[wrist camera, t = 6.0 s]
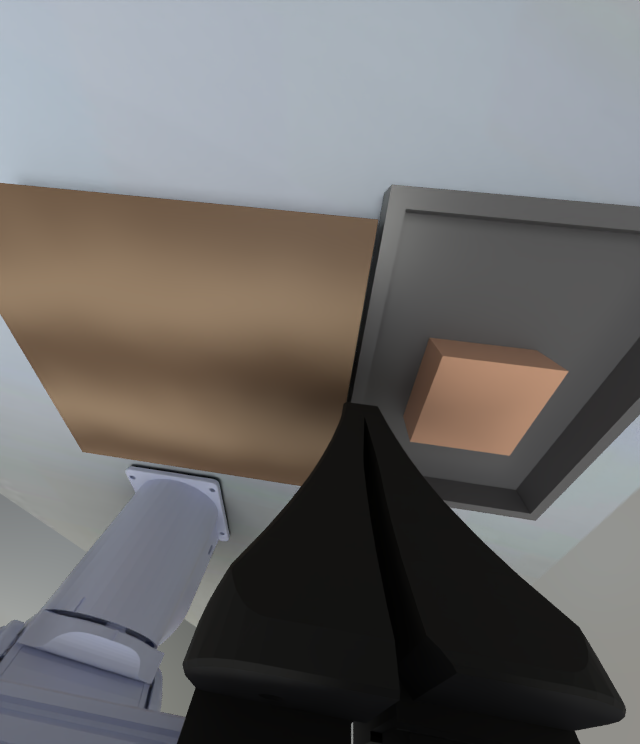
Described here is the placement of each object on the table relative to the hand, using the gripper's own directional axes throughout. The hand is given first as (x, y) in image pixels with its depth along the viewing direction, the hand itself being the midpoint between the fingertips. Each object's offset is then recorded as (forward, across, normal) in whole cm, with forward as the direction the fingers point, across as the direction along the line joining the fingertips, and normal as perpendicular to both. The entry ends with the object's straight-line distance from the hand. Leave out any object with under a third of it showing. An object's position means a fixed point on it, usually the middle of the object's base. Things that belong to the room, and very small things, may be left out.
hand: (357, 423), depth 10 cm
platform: (+5, +8, 0) cm, 10 cm away
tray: (+4, -6, 0) cm, 8 cm away
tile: (+2, -6, 0) cm, 6 cm away
